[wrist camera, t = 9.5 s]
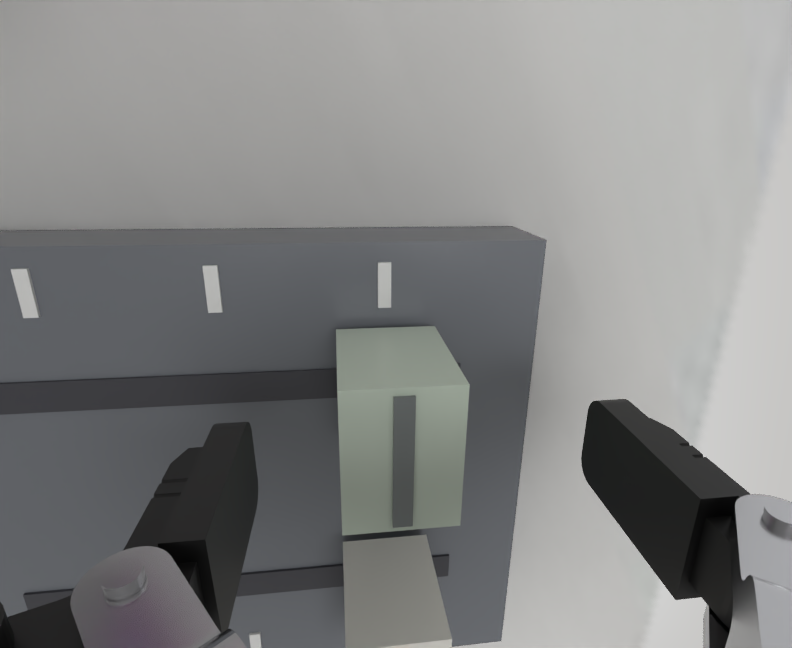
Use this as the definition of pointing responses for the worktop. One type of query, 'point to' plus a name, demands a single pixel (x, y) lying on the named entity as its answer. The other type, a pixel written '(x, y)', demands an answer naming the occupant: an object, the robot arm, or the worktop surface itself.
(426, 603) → the block
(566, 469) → the worktop surface
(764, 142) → the worktop surface
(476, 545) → the fader board
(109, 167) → the worktop surface
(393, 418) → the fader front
